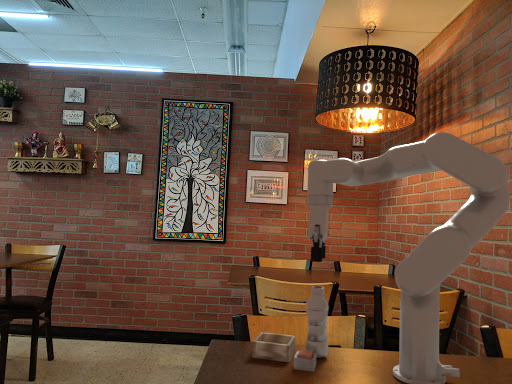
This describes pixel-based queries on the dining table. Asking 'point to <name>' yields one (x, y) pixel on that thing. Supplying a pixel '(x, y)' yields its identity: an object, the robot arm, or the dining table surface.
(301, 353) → the button
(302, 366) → the button housing
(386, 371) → the dining table surface
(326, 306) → the plastic bottle
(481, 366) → the dining table surface
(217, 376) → the dining table surface
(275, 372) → the dining table surface
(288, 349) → the bottle caddy
